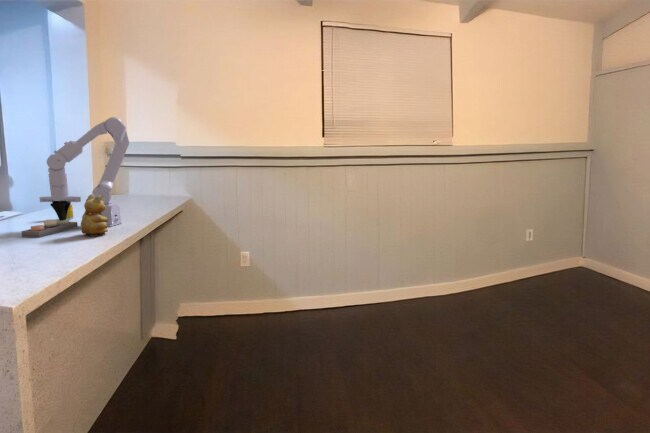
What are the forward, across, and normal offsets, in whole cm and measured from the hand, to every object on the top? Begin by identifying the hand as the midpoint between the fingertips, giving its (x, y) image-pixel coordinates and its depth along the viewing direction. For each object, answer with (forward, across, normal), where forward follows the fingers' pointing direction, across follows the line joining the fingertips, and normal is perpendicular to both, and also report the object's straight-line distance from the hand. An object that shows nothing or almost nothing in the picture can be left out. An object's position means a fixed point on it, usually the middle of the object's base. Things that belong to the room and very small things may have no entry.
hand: (62, 220), depth 156 cm
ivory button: (+1, +1, +6) cm, 6 cm away
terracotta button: (+2, +2, +12) cm, 12 cm away
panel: (+3, +1, +6) cm, 7 cm away
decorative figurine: (+3, -18, +12) cm, 22 cm away
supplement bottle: (+3, +10, -19) cm, 22 cm away
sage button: (+2, 0, 0) cm, 2 cm away
